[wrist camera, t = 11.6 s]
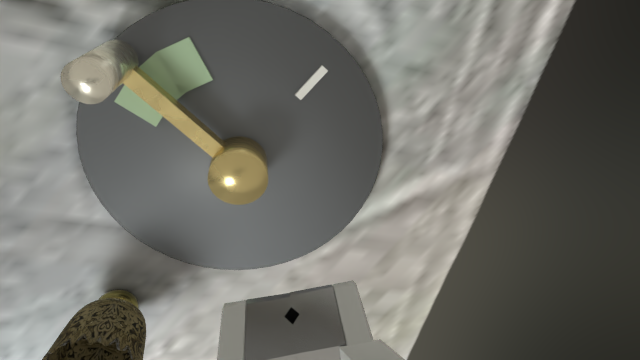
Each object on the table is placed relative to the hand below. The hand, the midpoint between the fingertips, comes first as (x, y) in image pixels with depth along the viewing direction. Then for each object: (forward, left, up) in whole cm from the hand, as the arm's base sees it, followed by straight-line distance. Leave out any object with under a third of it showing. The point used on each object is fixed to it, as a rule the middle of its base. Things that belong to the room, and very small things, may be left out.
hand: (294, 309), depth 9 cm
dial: (-7, -3, -23) cm, 24 cm away
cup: (-27, -4, -23) cm, 36 cm away
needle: (-7, +2, -22) cm, 23 cm away
